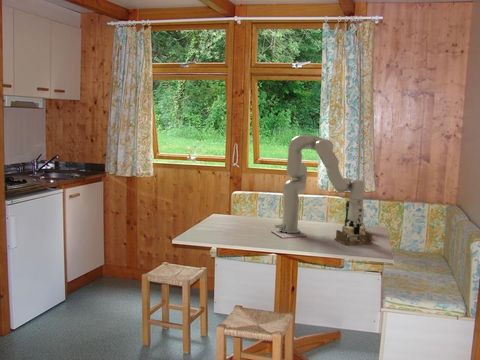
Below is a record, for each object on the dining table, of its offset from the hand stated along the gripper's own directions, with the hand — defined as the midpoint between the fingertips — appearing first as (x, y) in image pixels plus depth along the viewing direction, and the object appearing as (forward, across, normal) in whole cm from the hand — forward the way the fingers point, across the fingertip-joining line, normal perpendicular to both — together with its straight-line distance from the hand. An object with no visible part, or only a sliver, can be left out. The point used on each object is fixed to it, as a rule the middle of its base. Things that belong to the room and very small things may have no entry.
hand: (353, 232), depth 285 cm
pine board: (+1, 0, 0) cm, 1 cm away
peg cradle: (+6, 0, 0) cm, 6 cm away
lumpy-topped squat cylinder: (+6, +15, -10) cm, 19 cm away
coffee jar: (+6, +30, -16) cm, 34 cm away
